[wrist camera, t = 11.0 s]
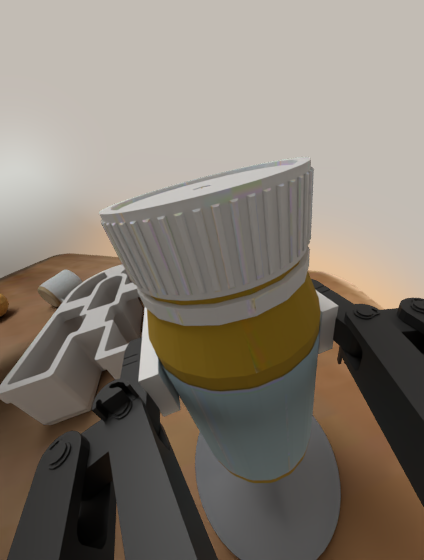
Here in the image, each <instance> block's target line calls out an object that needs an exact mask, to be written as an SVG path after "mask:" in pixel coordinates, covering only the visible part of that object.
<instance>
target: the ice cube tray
mask: <svg viewBox="0 0 424 560" xmlns="http://www.w3.org/2000/svg"><path fill="white" fill-rule="evenodd" d="M138 297H140V296H139V294H138V291H137V286H136V285H134V284H133V282H132V281H131V280H130V278H129V276H128V274H127V272H126V270H125V268H124V266H123V265H119V266H115V267H112V268H110V269H107V270H105V271H102V272H100V273H98V274H96V275H94V276H92V277H91V278H89V279H87V280H85V281H84V282H82V283H81V284H80V285H78V286H77V287H76V288H74V289H73V290H72V291H71V292H70V293H69V294H68V296H67V297H66V298H65V300H64V301H63V302H62V304H61V305H60V306H59V308H58V309H57V310H56V312H55V313H54V314H53V316H52V317H51V318H50V320H49V321H48V322H47V324H46V325H45V326H44V327H43V329H42V330H41V331H40V333H39V334H38V335H37V337H36V338H35V339H34V341H33V342H32V343H31V345H30V346H29V347H28V349H27V350H26V351H25V353H24V354H23V355H22V357H21V358H20V359H19V361H18V362H17V363H16V365H15V366H14V367H13V369H12V370H11V371H10V373H9V374H8V375H7V376H6V378H5V379H4V380H3V382H2V383H1V384H0V400H2V401H3V402H5V403H6V404H8V403H12V404H14V405H15V406H17V407H18V408H20V409H21V410H23V411H24V412H26V413H27V414H28V415H30V416H31V417H33V418H34V419H36V420H37V421H39V422H40V423H42V424H43V425H53V424H56V423H58V422H61V421H64V420H66V419H69V418H72V417H74V416H77V415H80V414H82V413H85V412H88V411H90V410H91V408H92V404H93V401H94V397H95V394H96V390H97V387H98V383H99V380H100V376H101V373H102V371H104V370H108V371H109V373H110V374H111V375H112V376H113V378H114V379H115V380H116V379H120V375H121V369H122V364H123V360H124V359H123V358H124V353H125V349H126V347H127V346H128V343H129V342H130V341H132V340H135V339H138V338H140V329H141V320H142V311H143V307H142V305H141V303H140V301H139V299H138ZM143 321H144V320H143ZM142 332H143V331H142Z"/></svg>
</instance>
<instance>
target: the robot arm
mask: <svg viewBox="0 0 424 560" xmlns="http://www.w3.org/2000/svg"><path fill="white" fill-rule="evenodd" d="M311 280H312V283H313V285H314V288H315V290H316V293H317V295H318V297H319V304H320V311H321V314H320V335H319V346H318V354H320V353H322V352H325V351H327V350H330V349H332V346H333V340H334V341H335V342H336V343H337V344H338V345H339V346H340V347H339V353H338V358H337V361H338V364H341V361H342V358H343V360H344V363H345V364H346V365H347V367H348V369H349V371H350V373H351V375H352V376H353V378H354V380H355V382H356V384H357V386H358V387H359V389H360V391H361V393H362V395H363V397H364V399H365V400H366V402H367V404H368V406H369V408H370V410H371V411H372V413H373V415H374V417H375V419H376V421H377V422H378V424H379V426H380V428H381V430H382V432H383V433H384V435H385V437H386V439H387V441H388V443H389V444H390V446H391V448H392V450H393V452H394V454H395V455H396V457H397V459H398V461H399V463H400V465H401V466H402V468H403V470H404V472H405V474H406V476H407V477H408V479H409V481H410V483H411V485H412V487H413V488H414V490H415V492H416V494H417V496H418V498H419V499H420V501H421V503H422V505H423V507H424V299H421V298H407V299H404V300H402V301H401V303H400V305H399V308H396V309H386V310H378V309H377V308H375V307H373V306H370V305H365V304H353V303H351V302H350V301H348V300H346V299H345V298H343V297H342V296H340V295H338V294H337V293H335V292H334V291H332V290H330V289H329V288H327V287H326V286H324V285H323V284H321V283H320V282H318V281H316V280H313V279H311ZM123 359H124V360H123V364H122V369H121V375H120V379H116V380H114V381H112V382H110V383H108V384H107V385H106V386H105V387H103V388H102V389H101V390H100V392H99V393H98V394H97V395H96V397H95V400H94V402H93V405H92V411H93V412H94V413H95V414H96V415H97V416H98V417H99V418H101V420H100V421H98V422H97V423H96V424H94V425H93V426H91V427H90V428H89V429H87V430H86V431H84V432H83V433H82V434H80V433H79V432H77V431H69V432H66V433H64V434H63V435H61V436H60V437H58V438H57V439H56V440H55V441H54V442H53V443H52V444H51V445H50V446H49V447H48V449H47V450H46V451H45V453H44V454H43V456H42V458H41V460H40V462H39V464H38V466H37V469H36V472H35V475H34V478H33V481H32V484H31V488H30V491H29V494H28V497H27V500H26V503H25V506H24V509H23V512H22V515H21V518H20V521H19V524H18V527H17V530H16V533H15V536H14V539H13V542H12V545H11V548H10V552H9V555H8V558H7V560H114V546H115V523H116V501H117V508H118V514H119V521H120V527H121V534H122V540H123V547H124V553H125V560H218V558H217V556H216V554H215V551H214V549H213V546H212V544H211V542H210V539H209V537H208V534H207V532H206V529H205V527H204V525H203V522H202V520H201V517H200V515H199V512H198V510H197V508H196V505H195V503H194V500H193V498H192V495H191V493H190V491H189V488H188V486H187V483H186V481H185V478H184V476H183V474H182V471H181V469H180V466H179V464H178V462H177V459H176V457H175V454H174V452H173V449H172V447H171V445H170V442H169V440H168V437H167V435H166V432H165V430H164V428H163V426H162V425H161V423H160V412H161V413H162V415H163V416H167V415H169V414H172V413H174V412H177V411H179V410H180V402H179V394H178V392H177V391H176V389H175V387H174V385H173V384H172V382H171V380H170V379H169V377H168V375H167V373H166V372H165V370H164V368H163V366H162V365H161V363H160V361H159V359H158V357H157V355H156V353H155V350H154V348H153V346H152V344H151V342H150V340H149V335H148V319H147V308H146V307H145V309H144V321H143V332H142V337H141V338H138V339H135V340H132V341H130V342H129V344H128V346H127V347H126V349H125V353H124V358H123Z"/></svg>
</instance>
